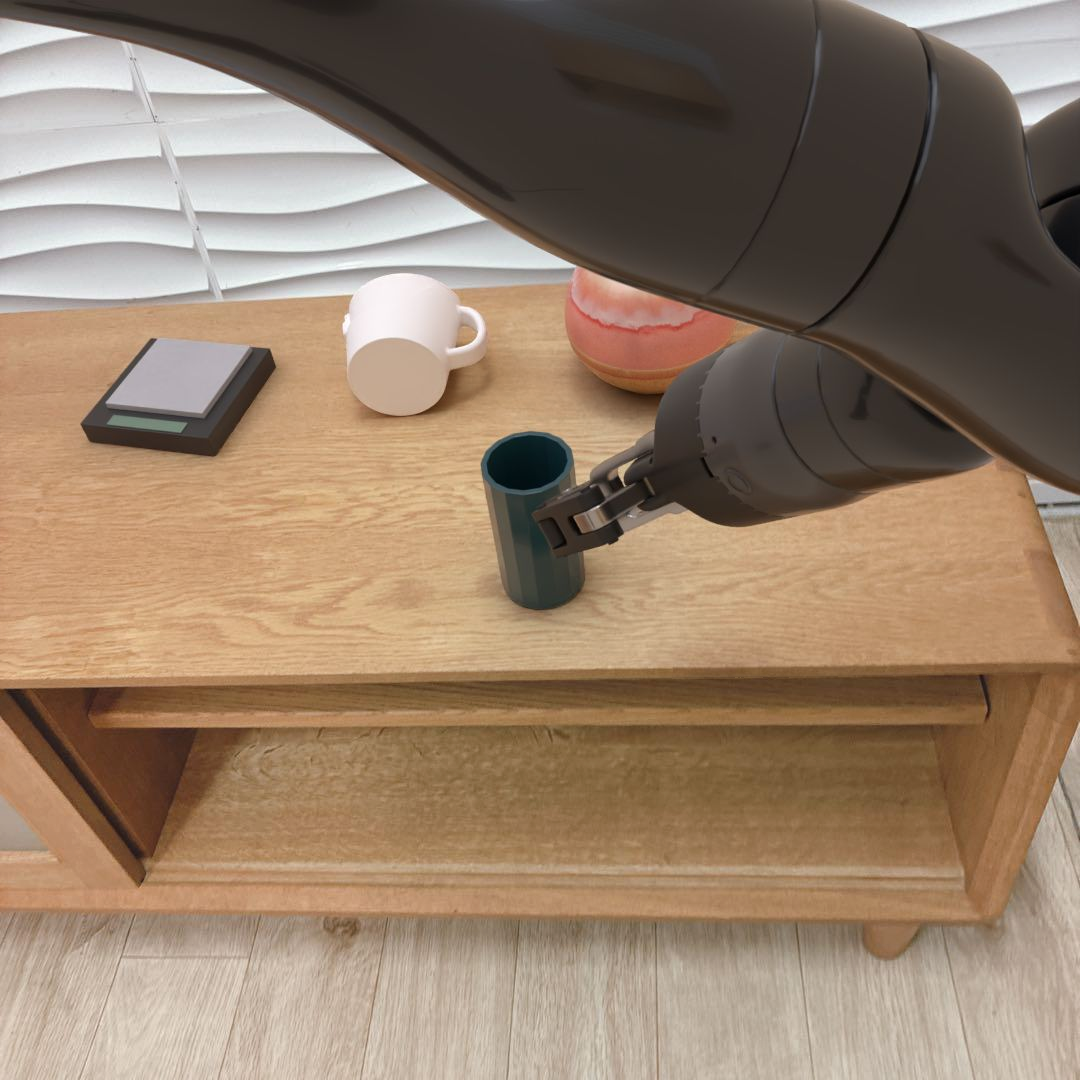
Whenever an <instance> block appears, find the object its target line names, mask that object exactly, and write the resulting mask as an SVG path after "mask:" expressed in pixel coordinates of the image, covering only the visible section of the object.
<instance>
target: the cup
mask: <svg viewBox="0 0 1080 1080" xmlns="http://www.w3.org/2000/svg"><path fill="white" fill-rule="evenodd" d="M480 473H481V478H482V483H483V488H484V494H485V499H486V504H487V509H488V515H489V519H490V520H489V521H490V526H491V530H492V537H493V541H494V547H495V552H496V557H497V563H498V567H499V572H500V578H501V584H502V587H503V591H504V592H505V594H506V595H507V597H508V598H509V599H510V600H512V601H513V602H514V603H515V604H517V605H518V606H521V607H522V608H523V607H524V608H527V609H530V610H531V609H532V610H549V609H550V610H551V609H555V608H558V607H562V606H563V605H565V604H567V603H569V602H570V601H572V600H573V599H574V598H575V597H576V596H577V595H578V594H579V593H580V592H581V591H582V588H583V586H584V584H585V580H586V564H585V555H584V551H582V552H578V553H574V554H570V555H568V556H566V557H559V558H555V556H554V554H553V552H552V550H551V547H550V545H549V543H548V541H547V539H546V538H545V536H544V534H543V532H542V530H541V529H540V527H539V525H538V523H537V522H536V521H535V520H534V518H533V516H532V513H533V512H534V511H536V510H538V509H537V508H536V507H538V506H539V505H541V504H543V503H544V502H545V501H547V500H549V499H551V498H552V497H554V496H557V495H560V494H562V491H564V490H565V489H567V488H569V487H571V488H572V489H573V488H575V487H577V486H578V485H577V476H576V466H575V459H574V453H573V450H572V447H570V446H569V444H568V443H566V442H565V440H564V439H563V438H561V437H559V436H557V435H554V434H552V433H550V432H545V431H535V430H527V431H520V432H515V433H511V434H508V435H507V436H504V437H502V438H500V439H498V440H496V441H495V442H494V443H493V444H492V445H491V446H489V447H488V448H487V449H486V451H485V452H484V454H483V457H482V459H481V461H480Z"/></svg>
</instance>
